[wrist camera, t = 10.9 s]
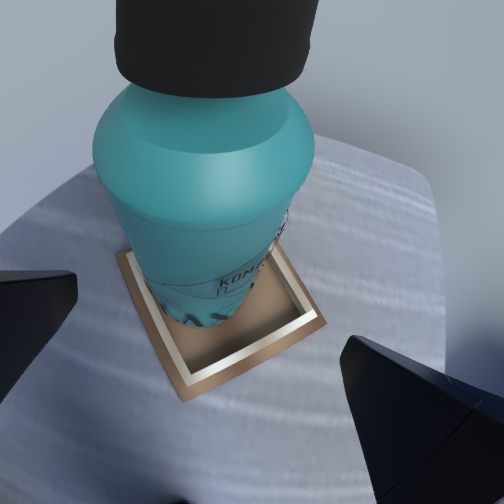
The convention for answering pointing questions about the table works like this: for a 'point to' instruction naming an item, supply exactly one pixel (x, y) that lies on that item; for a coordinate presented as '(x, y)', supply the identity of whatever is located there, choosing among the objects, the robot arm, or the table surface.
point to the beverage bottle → (205, 143)
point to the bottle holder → (227, 326)
